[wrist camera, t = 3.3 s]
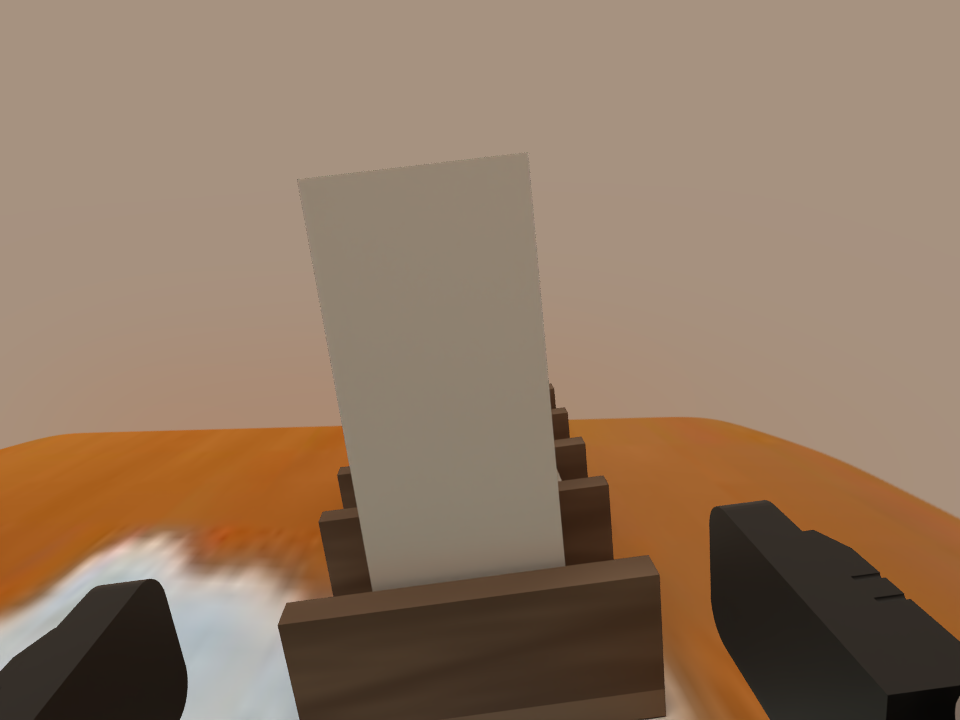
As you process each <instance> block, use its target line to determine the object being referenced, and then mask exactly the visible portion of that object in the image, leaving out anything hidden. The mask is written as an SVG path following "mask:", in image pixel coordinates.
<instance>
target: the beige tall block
mask: <svg viewBox="0 0 960 720" xmlns="http://www.w3.org/2000/svg"><path fill="white" fill-rule="evenodd" d="M297 182H298V187H299V193H300V197H301V203H302V209H303V214H304V220H305V225H306V231H307V236H308V242H309V247H310V252H311V257H312V263H313V269H314V274H315V279H316V285H317V290H318V296H319V302H320V307H321V312H322V318H323V324H324V329H325V334H326V340H327V345H328V351H329V356H330V361H331V367H332V372H333V378H334V383H335V389H336V395H337V400H338V405H339V410H340V416H341V422H342V427H343V433H344V438H345V444H346V449H347V455H348V460H349V465H350V471H351V476H352V482H353V487H354V493H355V498H356V504H357V509H358V515H359V520H360V526H361V531H362V536H363V542H364V547H365V553H366V558H367V564H368V569H369V575H370V580H371V586H372V591H381V590H389V589H396V588H404V587H411V586H419V585H426V584H434V583H442V582H449V581H457V580H464V579H472V578H479V577H487V576H495V575H502V574H510V573H517V572H525V571H533V570H540V569H548V568H555V567H563V566H565V557H564V546H563V535H562V524H561V513H560V502H559V491H558V480H557V469H556V458H555V446H554V435H553V424H552V413H551V402H550V391H549V380H548V371H547V370H548V369H547V359H546V348H545V336H544V324H543V313H542V303H541V293H540V280H539V269H538V258H537V247H536V236H535V226H534V214H533V204H532V192H531V180H530V170H529V158H528V152H526V153H518V154H510V155H501V156H493V157H484V158H475V159H467V160H458V161H450V162H441V163H433V164H424V165H416V166H408V167H399V168H390V169H382V170H373V171H365V172H356V173H348V174H339V175H331V176H322V177H314V178H305V179H297Z"/></svg>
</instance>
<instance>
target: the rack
mask: <svg viewBox="0 0 960 720" xmlns="http://www.w3.org/2000/svg"><path fill="white" fill-rule="evenodd" d="M549 391H550V402H551V413H552V424H553V435H554V446H555V458H556V468H557V471H558V473H559V475H560V478H561V480H562V481H558V491H559V502H560V513H561V524H562V535H563V546H564V557H565V566H563V567H555V568H548V569H540V570H533V571H525V572H517V573H510V574H502V575H495V576H487V577H479V578H472V579H464V580H457V581H449V582H442V583H434V584H426V585H419V586H411V587H404V588H396V589H389V590H381V591H372V586H371V580H370V575H369V569H368V564H367V558H366V553H365V547H364V542H363V536H362V531H361V526H360V520H359V515H358V509H357V504H356V498H355V493H354V487H353V482H352V476H351V471H350V466H348V467H340V470H339V472H338V475H337V476H338V481H339V487H340V492H341V497H342V503H343V508H344V509H341V510H333V511H325V512H322V515H321V517H320V520H319V527H320V532H321V537H322V542H323V547H324V551H325V556H326V561H327V566H328V571H329V576H330V581H331V586H332V591H333V596H334V597H328V598H320V599H313V600H305V601H298V602H290V603H286V606H285V608H284V611H283V613H282V616H281V618H280V621H279V623H278V629H279V633H280V637H281V641H282V646H283V650H284V654H285V659H286V663H287V667H288V672H289V676H290V680H291V685H292V689H293V693H294V697H295V702H296V706H297V710H298V715H299V719H300V720H639V719H646V718H653V717H660V716H666V707H665V685H664V663H663V641H662V620H661V598H660V576H659V573H658V571H657V569H656V568H655V566H654V564H653V562H652V561H651V559H650V557H649V555H646V556H639V557H631V558H623V559H616V560H614V559H613V544H612V529H611V514H610V499H609V485H608V483H607V481H606V479H605V478H604V476H596V477H589V478H588V475H587V462H586V449H585V442H584V441H583V439H582V437H575V438H570V435H569V423H568V412H567V411H566V409H565V408H556V405H555V394H554V388H553V386H552V384H549Z"/></svg>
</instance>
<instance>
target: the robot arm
mask: <svg viewBox="0 0 960 720" xmlns="http://www.w3.org/2000/svg"><path fill="white" fill-rule="evenodd" d="M709 527H710V573H711V603H712V610H713V615H714V620H715V623H716V627H717V630H718V633H719V635H720V638H721V640H722V642H723V644H724V646H725V648H726V649H727V651H728V652H729V654H730V656H731V657H732V659H733V661H734V662H735V664H736V665H737V667H738V669H739V670H740V672H741V673H742V675H743V677H744V678H745V680H746V681H747V683H748V685H749V686H750V688H751V689H752V691H753V693H754V694H755V696H756V698H757V699H758V701H759V702H760V704H761V706H762V707H763V709H764V710H765V712H766V714H767V715H768V717H769V718H770V720H960V641H958V640H957V639H956V638H955V637H954V636H953V635H952V634H950V633H949V632H948V631H947V630H946V629H945V628H943V627H942V626H941V625H940V624H939V623H938V622H936V621H935V620H934V619H933V618H932V617H931V616H930V615H928V614H927V613H926V612H925V611H924V610H923V609H921V608H920V607H919V606H918V605H917V604H916V603H914V602H913V601H912V600H911V599H908V600H906V598H905V596H904V593H903V592H902V591H901V590H899V589H898V588H897V587H896V586H895V585H894V584H892V583H891V582H890V581H889V580H888V579H887V578H881V576H880V572H878V571H877V570H876V569H875V568H874V567H873V566H872V565H870V564H869V563H868V562H867V561H866V560H865V559H863V558H862V557H861V556H860V555H859V554H858V553H856V552H855V551H854V550H853V549H852V548H850V547H848V546H846V545H844V544H842V543H840V542H838V541H836V540H833V539H831V538H829V537H827V536H825V535H823V534H821V533H819V532H817V531H815V530H809V531H801V530H800V529H799V528H798V527H797V526H796V525H795V524H794V523H793V522H792V521H791V520H790V519H789V518H788V517H786V516H785V515H784V514H783V513H782V512H781V511H780V510H779V509H778V508H777V507H776V506H775V505H774V504H772V503H771V502H769V501H767V500H762V501H755V502H747V503H739V504H732V505H724V506H716V507H714V508H713V509H712V511H711V514H710V523H709ZM187 688H188V678H187V670H186V665H185V662H184V658H183V655H182V651H181V648H180V644H179V640H178V637H177V633H176V630H175V626H174V623H173V619H172V616H171V612H170V609H169V605H168V601H167V598H166V595H165V592H164V589H163V587H162V586H161V584H160V583H159V582H158V581H157V580H154V579H146V580H138V581H131V582H123V583H115V584H107V585H100V586H97V587H95V588H93V589H92V590H90V591H89V592H88V593H87V594H86V596H85V597H84V598H83V599H82V600H81V601H80V602H79V603H78V604H77V605H76V607H75V608H74V609H73V610H72V611H71V612H70V613H69V614H68V615H67V616H66V617H65V619H64V620H63V621H62V622H61V623H60V624H59V625H58V626H57V627H56V628H54V629H53V630H51V631H50V632H48V633H47V634H46V635H44V636H43V637H41V638H40V639H39V640H37V641H36V642H34V643H33V644H32V645H30V646H29V647H27V648H26V649H25V650H23V651H22V652H20V653H19V654H17V655H16V656H15V657H13V658H12V659H11V660H10V662H9V663H8V664H7V665H6V666H5V667H4V668H3V669H2V670H1V671H0V720H180V718H181V716H182V713H183V710H184V707H185V703H186V697H187Z"/></svg>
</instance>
